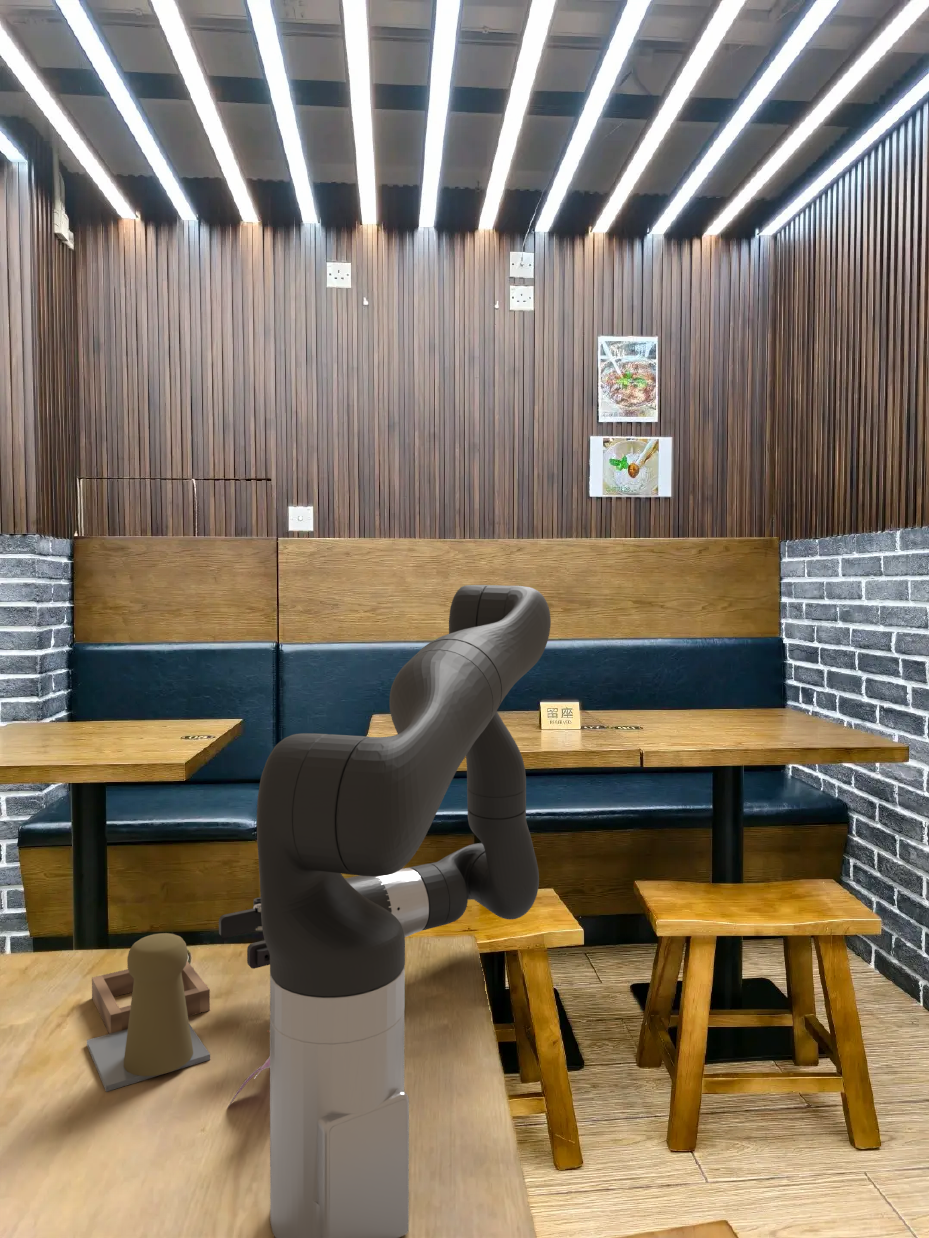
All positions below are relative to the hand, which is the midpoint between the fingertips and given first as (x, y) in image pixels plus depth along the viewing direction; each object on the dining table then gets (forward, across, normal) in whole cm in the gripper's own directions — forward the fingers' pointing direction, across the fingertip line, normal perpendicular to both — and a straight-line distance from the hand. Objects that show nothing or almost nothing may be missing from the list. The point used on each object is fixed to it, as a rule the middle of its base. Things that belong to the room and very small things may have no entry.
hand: (233, 941), depth 82 cm
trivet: (+8, 0, +9) cm, 12 cm away
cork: (+8, +2, +8) cm, 12 cm away
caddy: (+6, -10, +9) cm, 14 cm away
